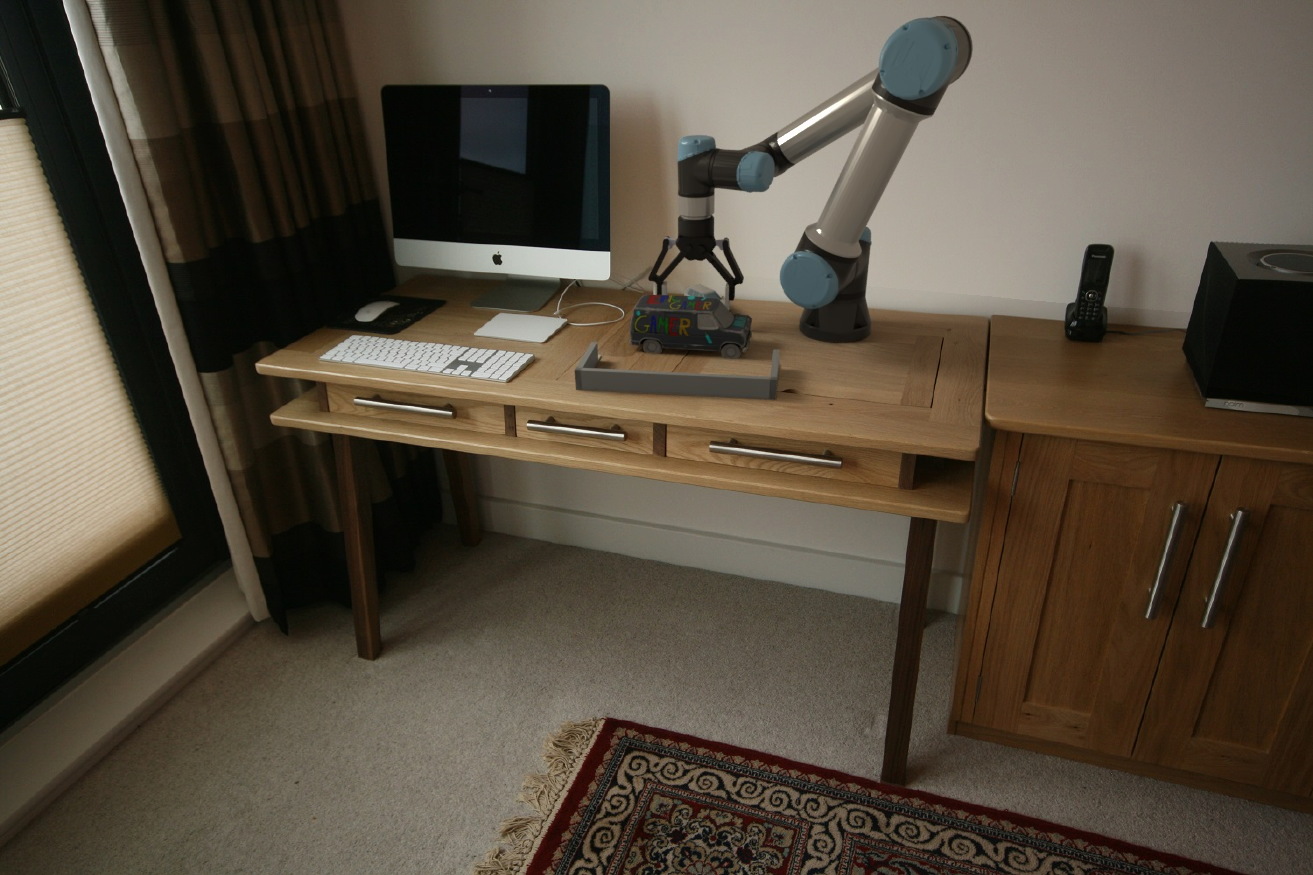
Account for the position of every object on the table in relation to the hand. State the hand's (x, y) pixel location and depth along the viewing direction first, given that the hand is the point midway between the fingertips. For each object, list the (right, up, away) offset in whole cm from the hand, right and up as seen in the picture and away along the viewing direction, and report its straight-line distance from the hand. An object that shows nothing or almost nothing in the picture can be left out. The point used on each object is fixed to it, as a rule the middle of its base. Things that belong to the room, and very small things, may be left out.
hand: (695, 313), depth 188 cm
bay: (-4, -15, -21) cm, 26 cm away
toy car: (+3, +2, +13) cm, 13 cm away
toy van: (-1, -8, -7) cm, 11 cm away
